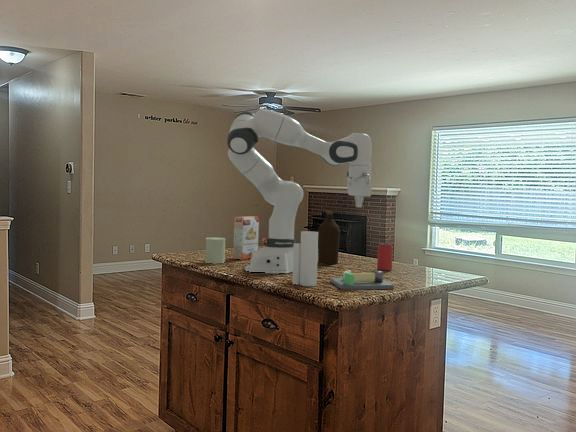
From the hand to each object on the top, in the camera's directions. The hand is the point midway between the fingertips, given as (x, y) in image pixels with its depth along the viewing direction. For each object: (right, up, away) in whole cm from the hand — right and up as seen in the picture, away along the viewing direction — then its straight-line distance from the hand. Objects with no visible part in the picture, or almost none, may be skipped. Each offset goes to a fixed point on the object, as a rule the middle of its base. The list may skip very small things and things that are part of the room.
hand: (358, 207), depth 220 cm
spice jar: (+1, -28, -16) cm, 33 cm away
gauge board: (-1, -30, -13) cm, 33 cm away
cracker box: (-50, -25, +49) cm, 74 cm away
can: (-63, -26, +32) cm, 75 cm away
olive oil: (-9, -27, +41) cm, 50 cm away
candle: (-23, -30, -14) cm, 40 cm away
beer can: (+15, -28, +25) cm, 41 cm away
